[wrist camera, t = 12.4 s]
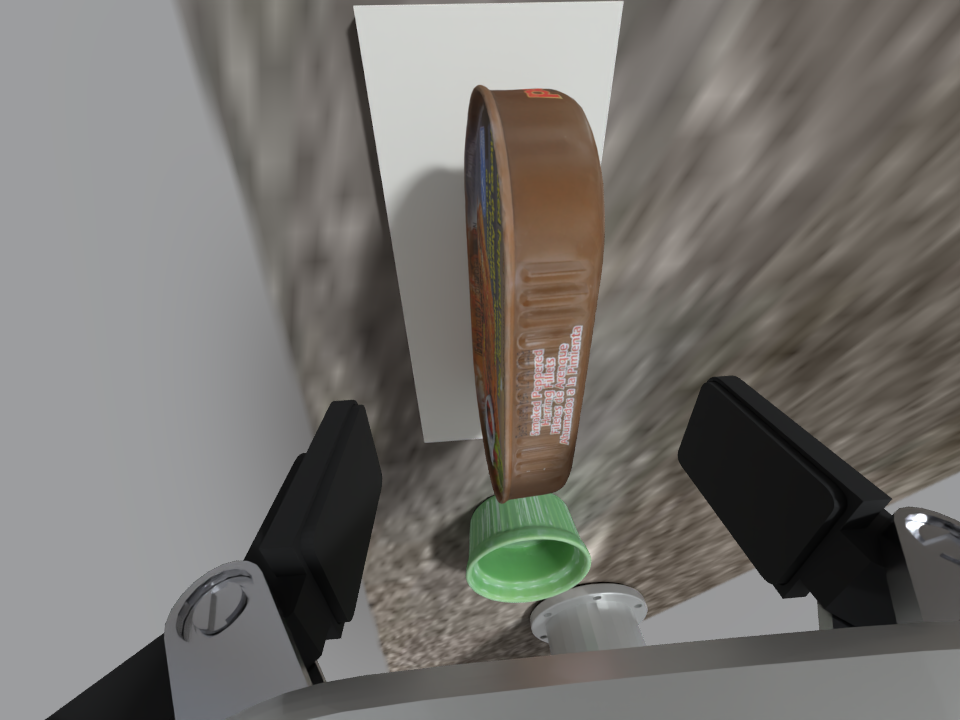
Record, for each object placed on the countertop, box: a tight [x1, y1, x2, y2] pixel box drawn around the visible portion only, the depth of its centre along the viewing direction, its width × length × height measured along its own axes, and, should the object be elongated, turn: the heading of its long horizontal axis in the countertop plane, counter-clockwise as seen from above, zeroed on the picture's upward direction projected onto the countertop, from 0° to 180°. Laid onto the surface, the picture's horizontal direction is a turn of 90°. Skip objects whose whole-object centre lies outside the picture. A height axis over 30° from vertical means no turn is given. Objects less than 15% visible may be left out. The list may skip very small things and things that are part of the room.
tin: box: [464, 85, 605, 504], centre depth 13 cm, size 15×3×8 cm, turn 2°
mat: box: [353, 1, 623, 443], centre depth 17 cm, size 20×9×1 cm, turn 2°
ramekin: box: [466, 493, 591, 603], centre depth 27 cm, size 9×9×4 cm
